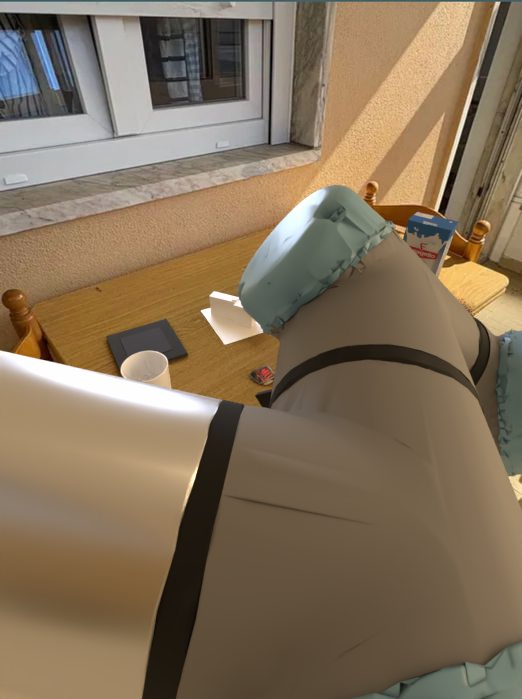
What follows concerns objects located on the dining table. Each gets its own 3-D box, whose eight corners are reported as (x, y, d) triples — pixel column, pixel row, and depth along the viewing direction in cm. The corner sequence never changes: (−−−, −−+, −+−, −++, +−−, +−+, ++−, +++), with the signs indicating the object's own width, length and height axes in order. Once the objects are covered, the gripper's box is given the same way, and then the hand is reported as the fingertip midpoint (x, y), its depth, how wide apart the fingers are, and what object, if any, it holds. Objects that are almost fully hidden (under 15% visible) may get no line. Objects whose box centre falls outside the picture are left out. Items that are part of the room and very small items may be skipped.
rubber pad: (122, 377, 76) (121, 374, 76) (106, 338, 86) (105, 335, 85) (188, 355, 82) (187, 352, 81) (166, 321, 91) (166, 318, 90)
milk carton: (387, 292, 102) (407, 219, 89) (396, 282, 106) (416, 211, 93) (425, 305, 97) (451, 230, 84) (432, 294, 101) (459, 221, 88)
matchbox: (247, 376, 77) (247, 374, 77) (264, 363, 80) (264, 362, 80) (264, 388, 75) (264, 386, 74) (281, 374, 77) (281, 373, 77)
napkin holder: (199, 310, 94) (197, 291, 90) (240, 298, 98) (240, 279, 95) (225, 345, 84) (223, 324, 81) (269, 330, 89) (270, 310, 85)
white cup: (144, 428, 67) (133, 389, 60) (125, 402, 72) (112, 363, 65) (183, 406, 71) (176, 368, 64) (163, 383, 75) (154, 344, 69)
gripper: (278, 585, 24) (164, 531, 41) (431, 376, 39) (300, 401, 56) (214, 491, 23) (125, 476, 40) (395, 313, 38) (273, 358, 55)
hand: (226, 432), depth 48 cm, fingers open, 13 cm apart
